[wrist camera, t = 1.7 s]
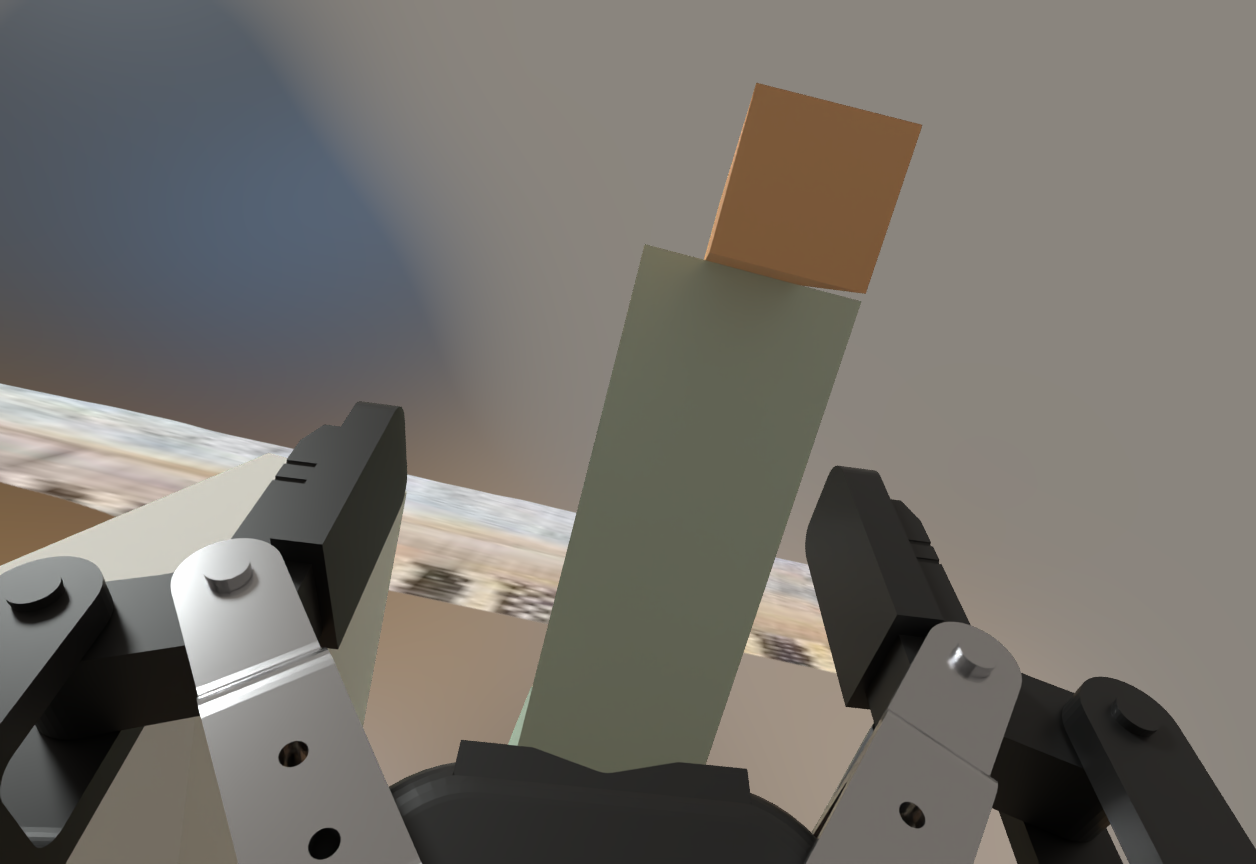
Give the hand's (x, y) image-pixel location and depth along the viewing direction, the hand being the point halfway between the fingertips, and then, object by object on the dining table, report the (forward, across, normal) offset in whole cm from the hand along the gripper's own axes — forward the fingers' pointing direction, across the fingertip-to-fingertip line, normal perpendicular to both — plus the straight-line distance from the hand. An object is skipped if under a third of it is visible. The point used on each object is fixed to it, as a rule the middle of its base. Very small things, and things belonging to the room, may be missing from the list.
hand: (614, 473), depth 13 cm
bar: (+16, -5, +2) cm, 17 cm away
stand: (+10, -2, +34) cm, 35 cm away
